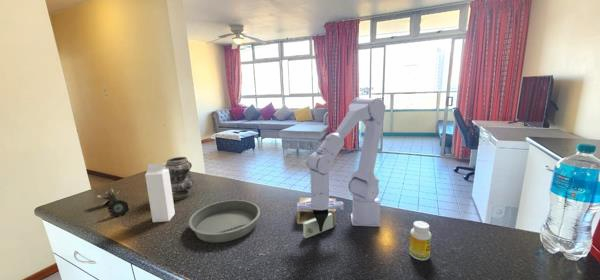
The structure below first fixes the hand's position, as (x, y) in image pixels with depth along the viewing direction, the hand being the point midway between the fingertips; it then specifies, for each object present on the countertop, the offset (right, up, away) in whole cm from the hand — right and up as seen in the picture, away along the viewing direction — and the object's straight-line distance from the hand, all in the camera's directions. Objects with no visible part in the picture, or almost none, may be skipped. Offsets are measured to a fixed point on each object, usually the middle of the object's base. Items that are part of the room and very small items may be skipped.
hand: (320, 230), depth 81 cm
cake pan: (-33, -2, +10) cm, 35 cm away
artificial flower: (-87, -1, +27) cm, 91 cm away
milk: (-60, -2, +17) cm, 62 cm away
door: (+1, -2, +3) cm, 4 cm away
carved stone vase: (-63, +3, +38) cm, 73 cm away
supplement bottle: (+28, -4, -9) cm, 29 cm away
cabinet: (0, 0, +13) cm, 13 cm away
